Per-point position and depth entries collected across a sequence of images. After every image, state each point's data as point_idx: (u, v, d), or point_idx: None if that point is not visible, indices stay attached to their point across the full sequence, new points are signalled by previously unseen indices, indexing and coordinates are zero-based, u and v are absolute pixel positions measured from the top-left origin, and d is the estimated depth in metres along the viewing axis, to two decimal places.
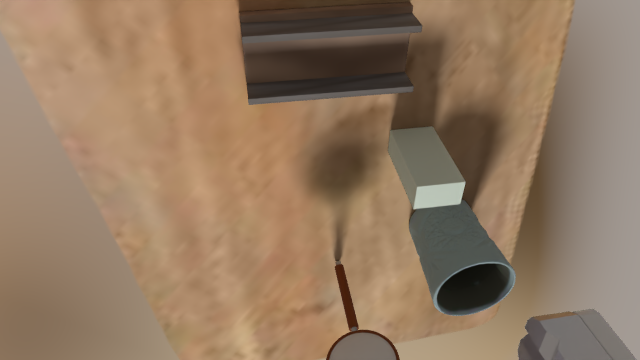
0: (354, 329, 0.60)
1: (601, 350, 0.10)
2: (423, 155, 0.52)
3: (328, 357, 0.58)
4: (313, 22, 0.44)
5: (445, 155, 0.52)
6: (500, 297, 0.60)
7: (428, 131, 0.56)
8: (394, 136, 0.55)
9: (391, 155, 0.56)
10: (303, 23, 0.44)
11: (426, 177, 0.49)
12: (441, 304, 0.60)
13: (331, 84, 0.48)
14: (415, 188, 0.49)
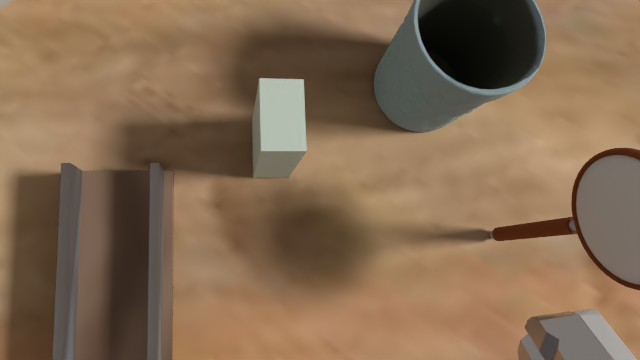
0: (573, 225, 0.34)
1: (601, 351, 0.10)
2: None
3: (620, 280, 0.31)
4: None
5: (255, 106, 0.37)
6: None
7: (252, 127, 0.42)
8: (254, 173, 0.41)
9: (284, 174, 0.41)
10: None
11: (259, 136, 0.34)
12: (521, 75, 0.35)
13: None
14: (270, 152, 0.33)
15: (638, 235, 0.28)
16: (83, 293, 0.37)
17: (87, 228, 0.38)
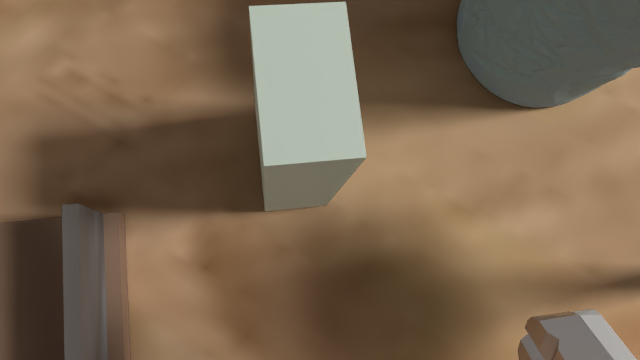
0: None
1: (601, 351, 0.10)
2: None
3: None
4: None
5: None
6: None
7: None
8: (264, 204, 0.23)
9: (319, 202, 0.23)
10: None
11: None
12: None
13: None
14: (285, 167, 0.15)
15: None
16: None
17: None
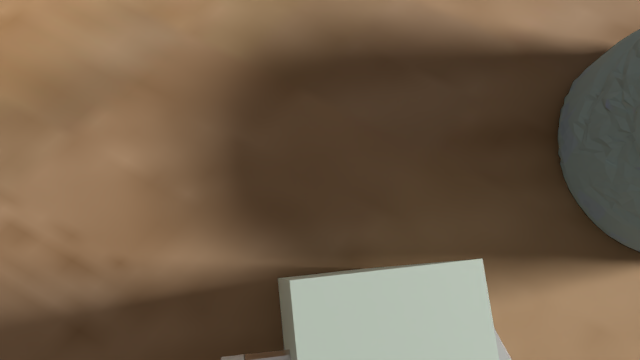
0: None
1: None
2: None
3: None
4: None
5: (283, 300, 0.12)
6: None
7: (280, 303, 0.16)
8: None
9: None
10: None
11: None
12: None
13: None
14: None
15: None
16: None
17: None
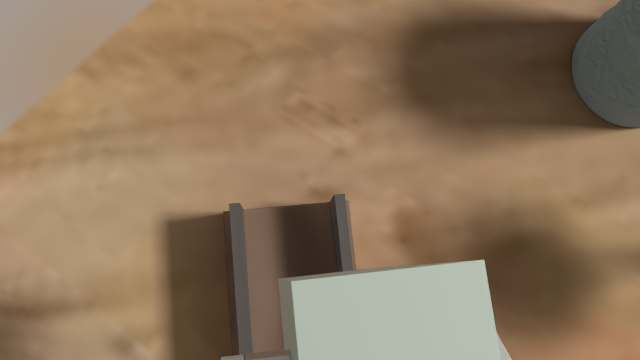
0: None
1: None
2: None
3: None
4: None
5: (284, 301, 0.12)
6: None
7: None
8: None
9: None
10: None
11: None
12: None
13: None
14: None
15: None
16: None
17: (257, 280, 0.30)
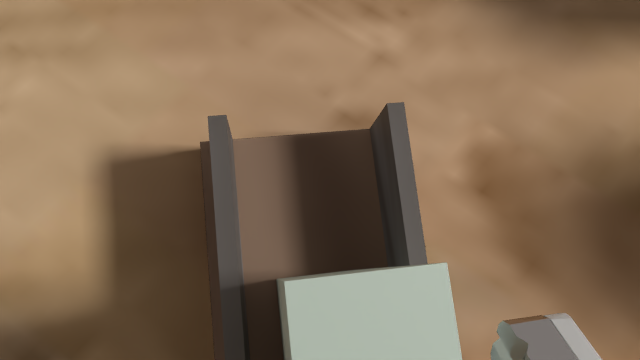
0: None
1: (570, 355, 0.10)
2: None
3: None
4: None
5: None
6: None
7: None
8: None
9: None
10: None
11: None
12: None
13: None
14: None
15: None
16: None
17: (255, 253, 0.19)
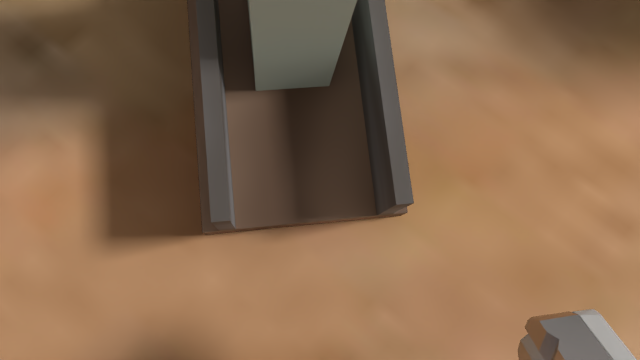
0: None
1: (601, 350, 0.10)
2: None
3: None
4: None
5: None
6: None
7: None
8: (255, 75, 0.19)
9: (321, 72, 0.19)
10: None
11: None
12: None
13: (358, 6, 0.20)
14: None
15: None
16: (233, 64, 0.20)
17: None
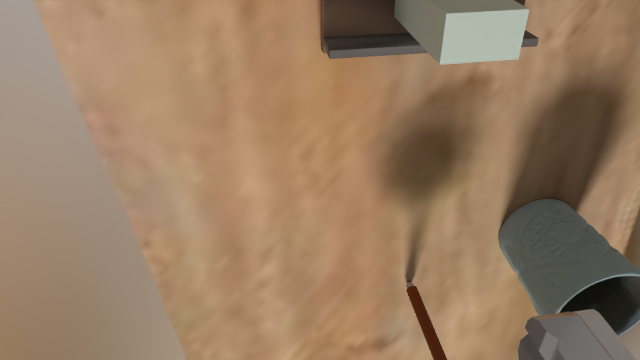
0: None
1: (601, 350, 0.10)
2: None
3: None
4: None
5: None
6: (631, 324, 0.47)
7: None
8: None
9: (399, 15, 0.36)
10: None
11: (460, 5, 0.29)
12: None
13: None
14: (442, 22, 0.29)
15: None
16: None
17: None
